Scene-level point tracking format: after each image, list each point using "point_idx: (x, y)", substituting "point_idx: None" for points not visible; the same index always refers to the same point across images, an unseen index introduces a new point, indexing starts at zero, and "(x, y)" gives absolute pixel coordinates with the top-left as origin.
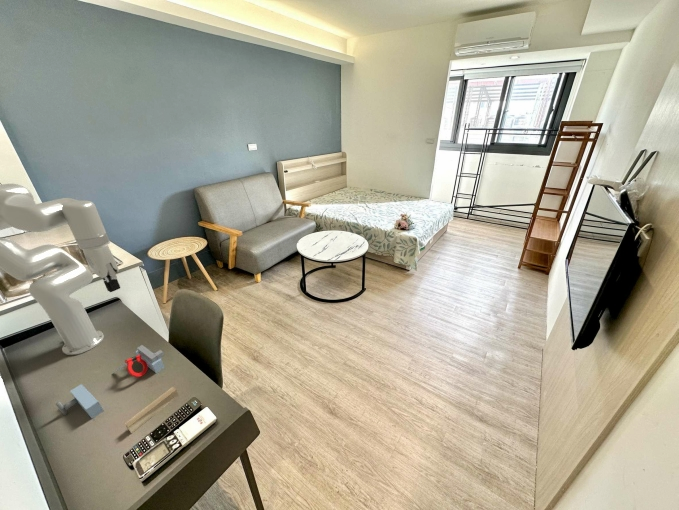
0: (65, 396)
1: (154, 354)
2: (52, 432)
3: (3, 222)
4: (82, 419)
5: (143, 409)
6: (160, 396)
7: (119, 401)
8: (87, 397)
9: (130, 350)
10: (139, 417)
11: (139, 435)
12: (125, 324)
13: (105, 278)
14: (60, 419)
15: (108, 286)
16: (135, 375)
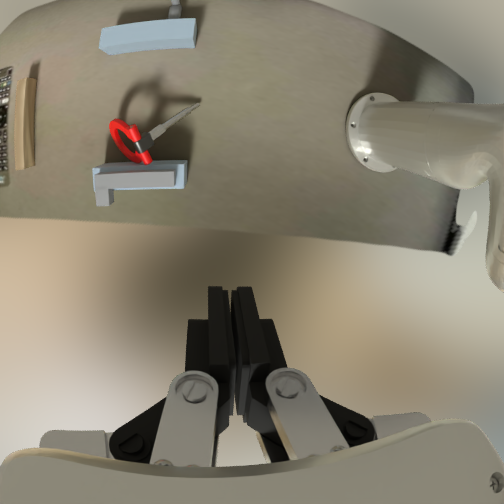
0: (231, 23)
1: (104, 187)
2: None
3: None
4: None
5: (23, 109)
6: (22, 142)
7: (103, 81)
8: (132, 35)
9: (248, 166)
10: (16, 99)
11: None
12: (360, 217)
13: (181, 425)
14: None
15: (210, 329)
16: (109, 127)
